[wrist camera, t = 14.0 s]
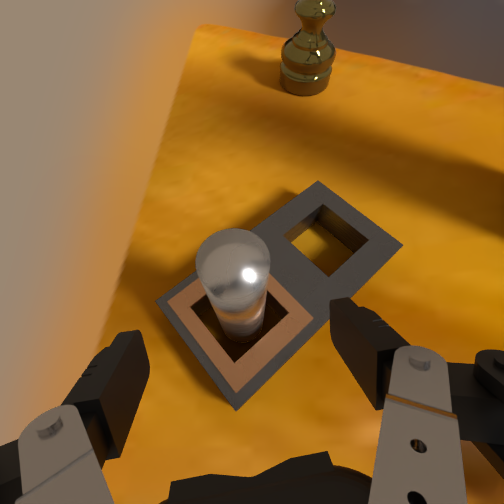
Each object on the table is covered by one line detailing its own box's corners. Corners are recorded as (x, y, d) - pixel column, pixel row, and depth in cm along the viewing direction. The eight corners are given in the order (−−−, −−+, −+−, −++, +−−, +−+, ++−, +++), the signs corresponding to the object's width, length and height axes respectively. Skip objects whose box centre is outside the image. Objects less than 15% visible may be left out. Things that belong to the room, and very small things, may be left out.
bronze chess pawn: (327, 69, 42) (347, -18, 33) (329, 98, 38) (351, 10, 30) (280, 67, 42) (286, -20, 34) (277, 96, 39) (284, 7, 30)
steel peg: (244, 293, 25) (237, 216, 14) (271, 323, 24) (286, 262, 13) (213, 319, 24) (180, 256, 13) (239, 352, 22) (227, 311, 12)
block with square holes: (312, 199, 30) (318, 178, 27) (388, 260, 26) (405, 243, 23) (166, 311, 24) (153, 299, 21) (238, 409, 20) (235, 411, 18)
